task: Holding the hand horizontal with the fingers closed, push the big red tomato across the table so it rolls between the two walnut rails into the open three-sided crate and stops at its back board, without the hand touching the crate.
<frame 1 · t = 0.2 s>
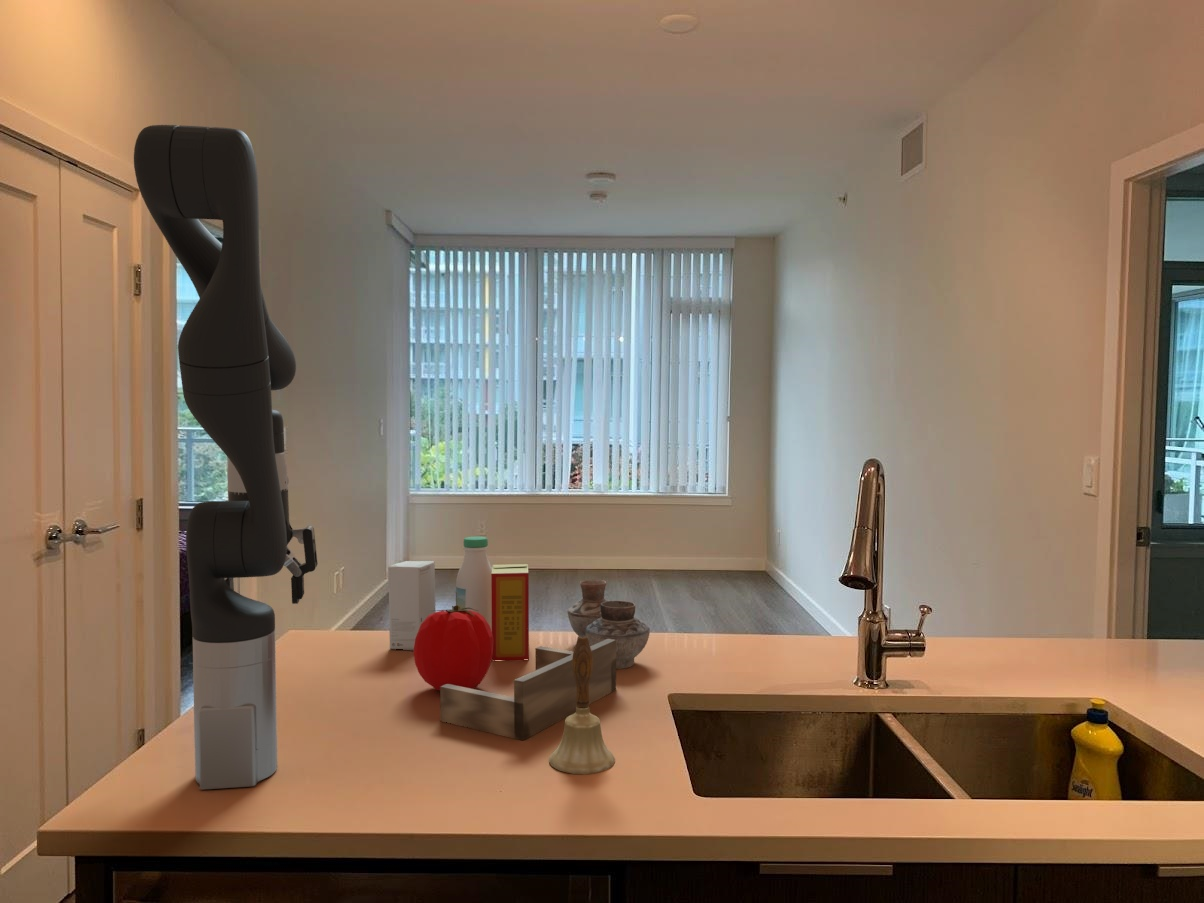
hand: (263, 604, 119), 18 cm above the worktop, tool pointing down, fingers open, 8 cm apart
hand bell: (582, 762, 110), on the worktop
baking soda box: (510, 654, 159), on the worktop
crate: (528, 703, 132), on the worktop
pottery: (605, 655, 159), on the worktop
tomato: (454, 689, 139), on the worktop
skincare box: (412, 646, 165), on the worktop
milk bottle: (476, 641, 168), on the worktop
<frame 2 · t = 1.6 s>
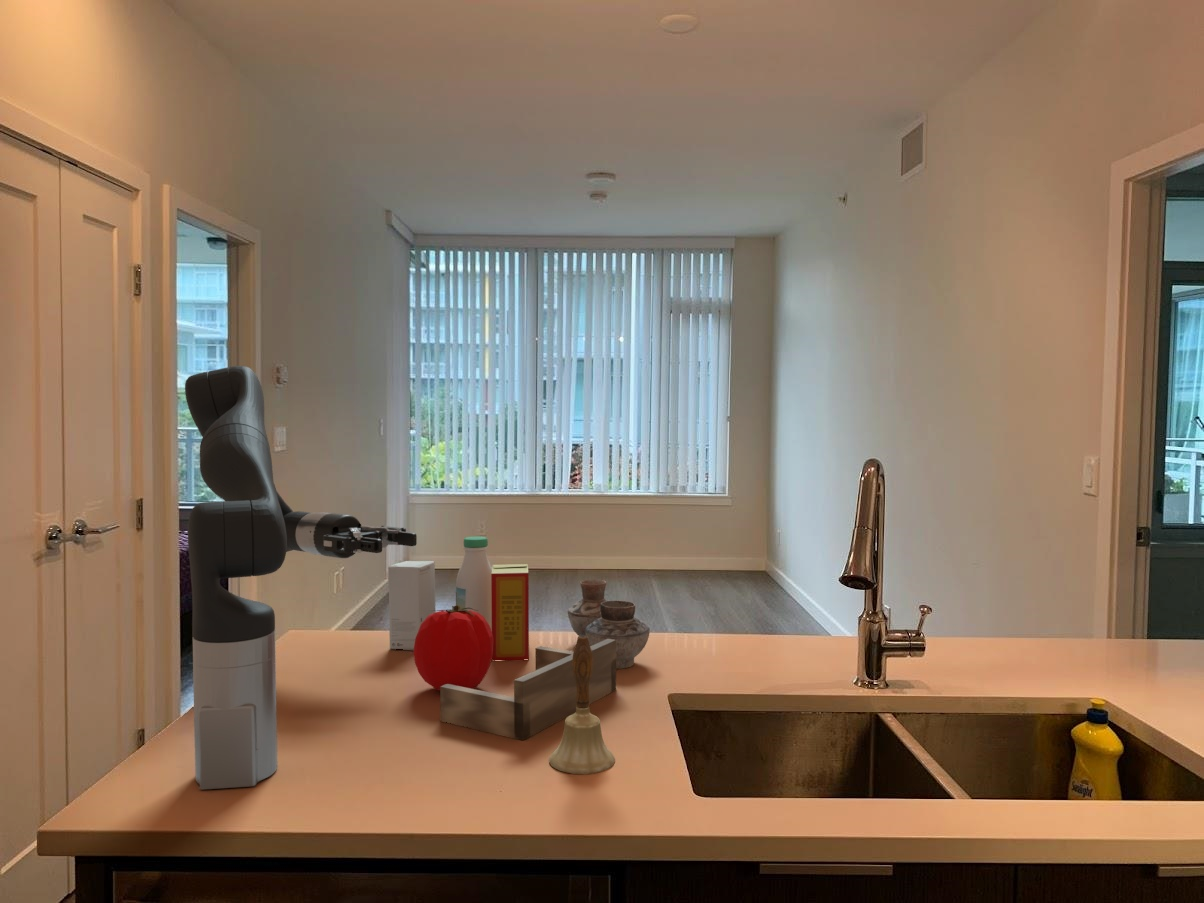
hand: (398, 543, 144), 22 cm above the worktop, tool horizontal, fingers open, 7 cm apart
nothing on the worktop moved.
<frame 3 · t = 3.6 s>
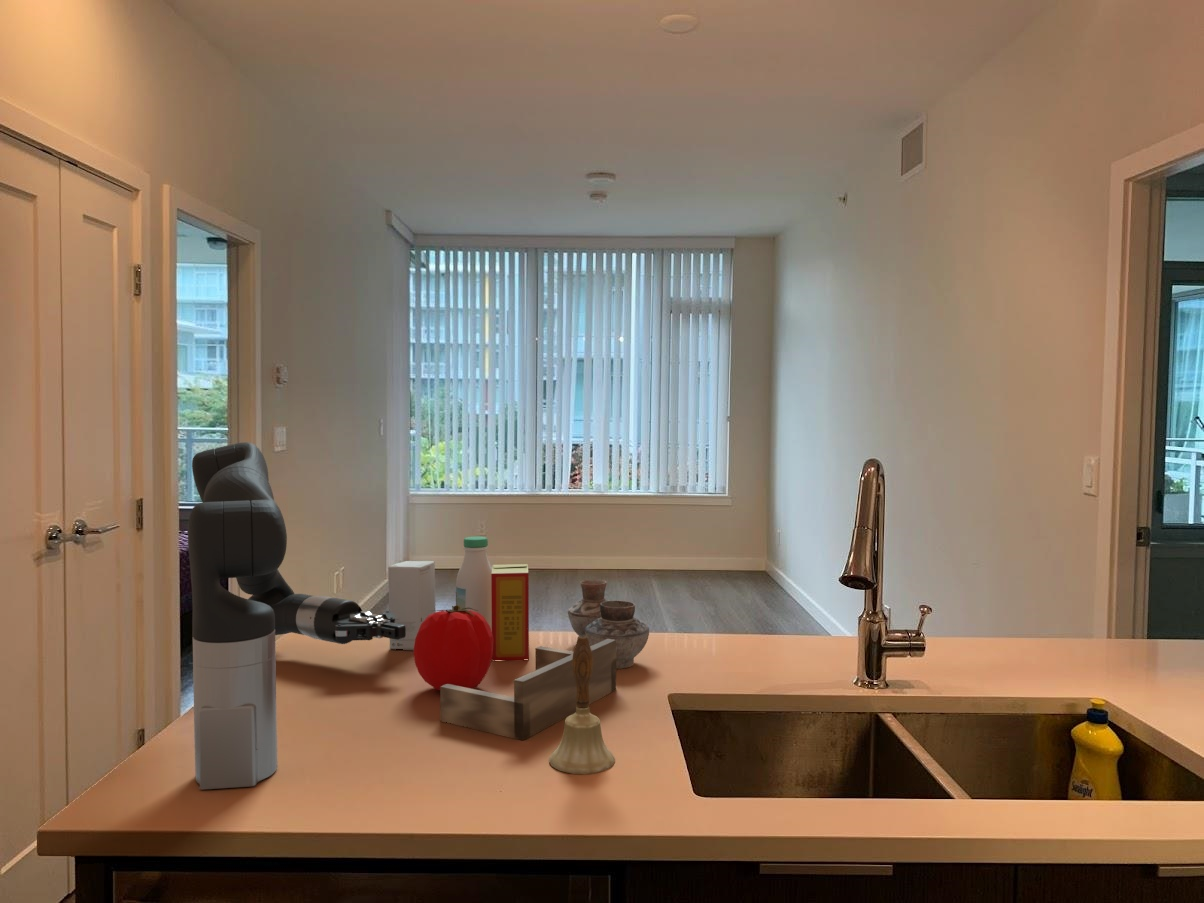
hand: (402, 632, 145), 8 cm above the worktop, tool horizontal, fingers closed
nothing on the worktop moved.
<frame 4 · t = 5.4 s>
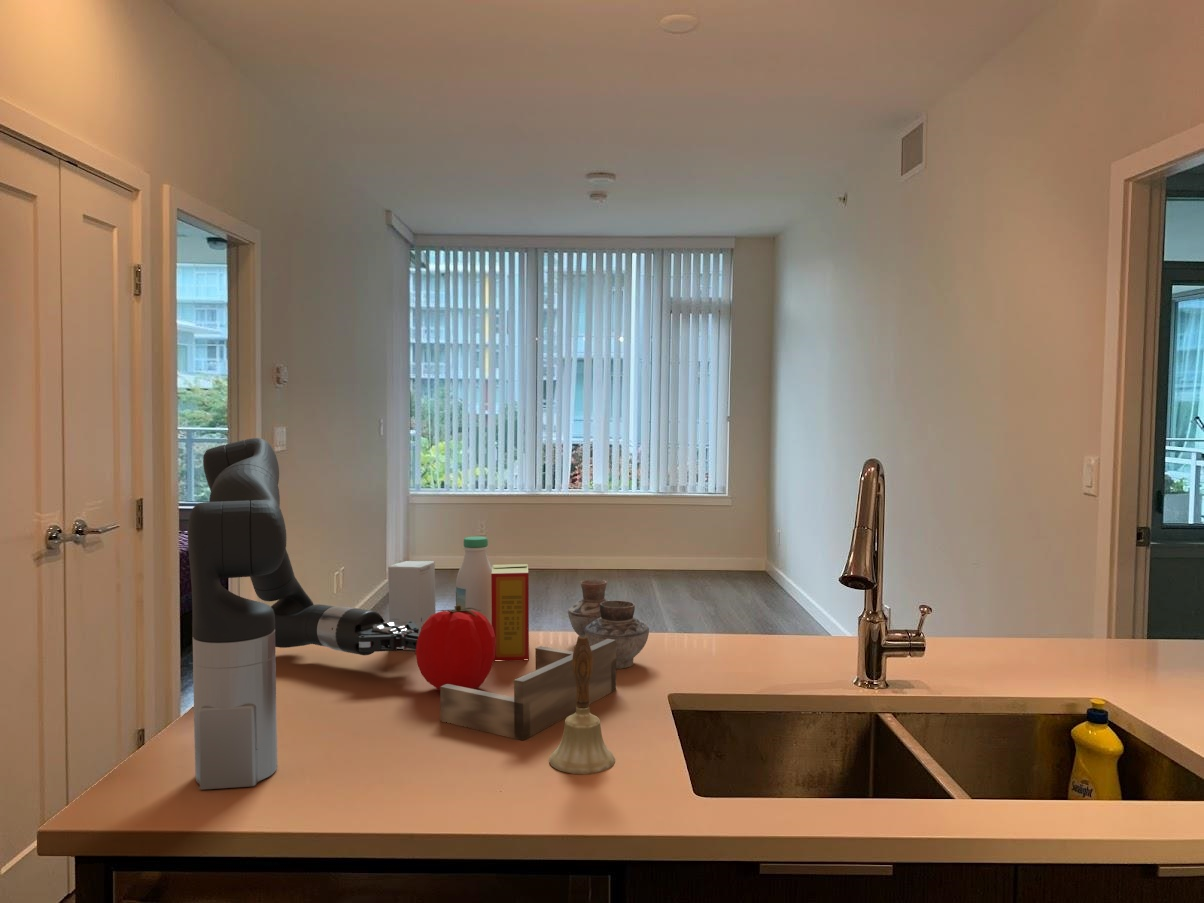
hand: (427, 643, 142), 7 cm above the worktop, tool horizontal, fingers closed
tomato: (456, 690, 139), on the worktop, touching gripper
everything else where it was.
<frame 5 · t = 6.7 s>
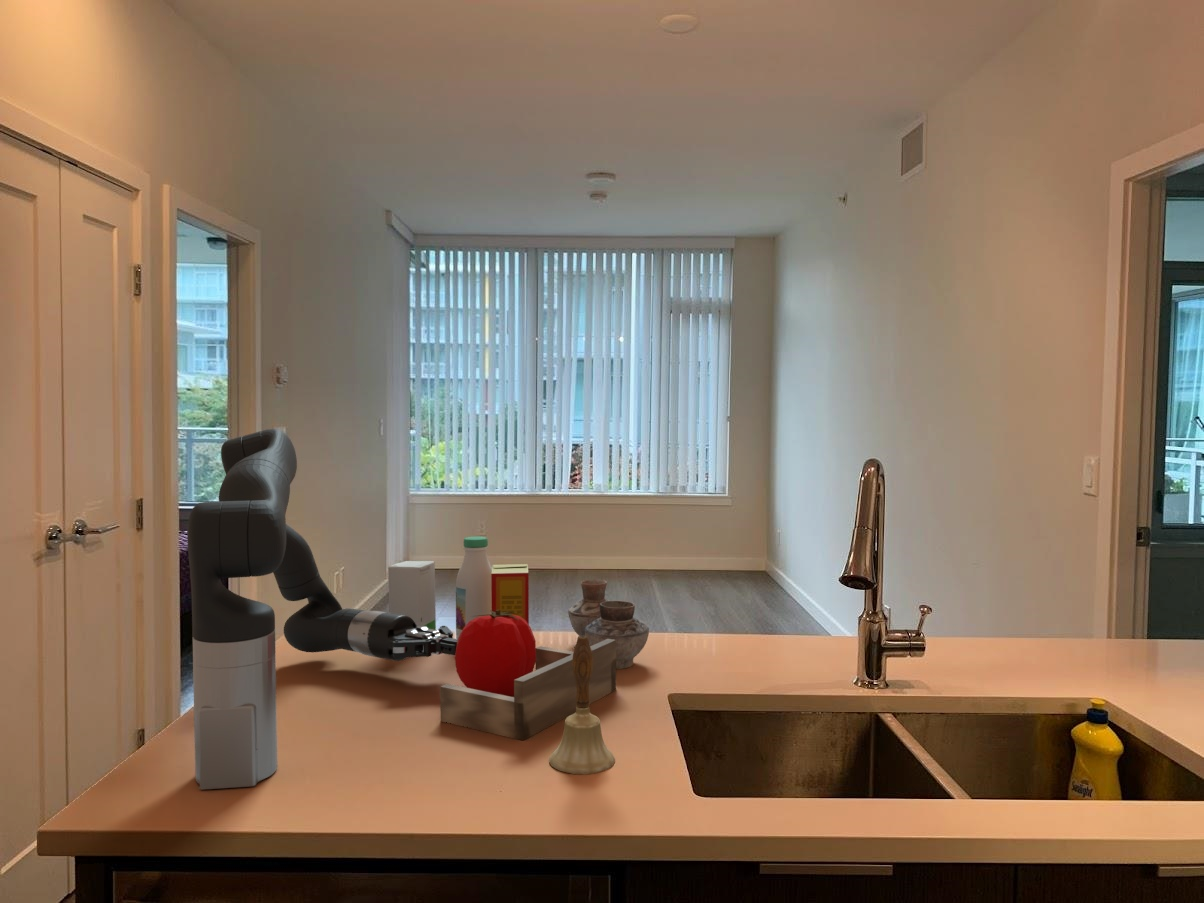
hand: (462, 648, 138), 7 cm above the worktop, tool horizontal, fingers closed
tomato: (496, 696, 136), on the worktop, touching gripper
everything else where it was.
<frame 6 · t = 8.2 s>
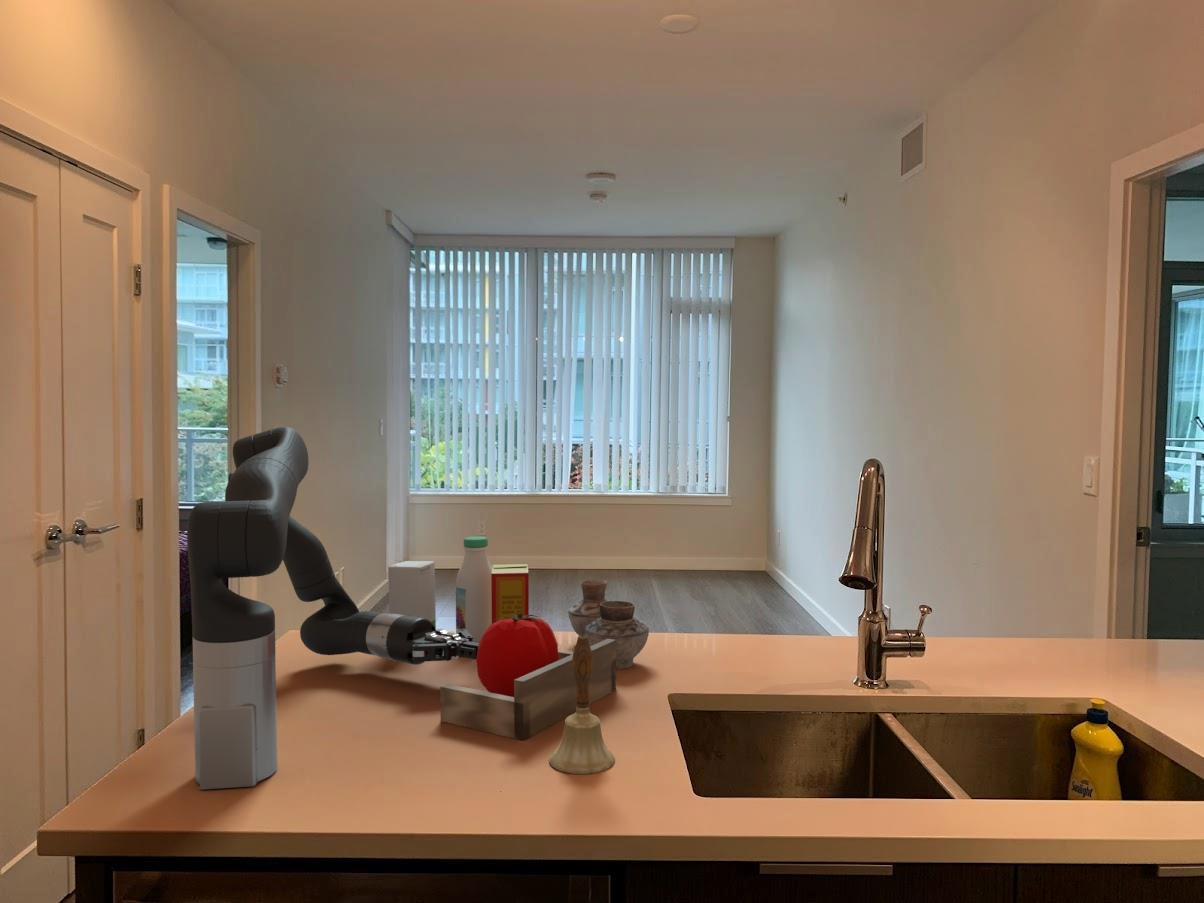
hand: (483, 652, 136), 7 cm above the worktop, tool horizontal, fingers closed
tomato: (518, 700, 134), on the worktop, touching gripper
everything else where it was.
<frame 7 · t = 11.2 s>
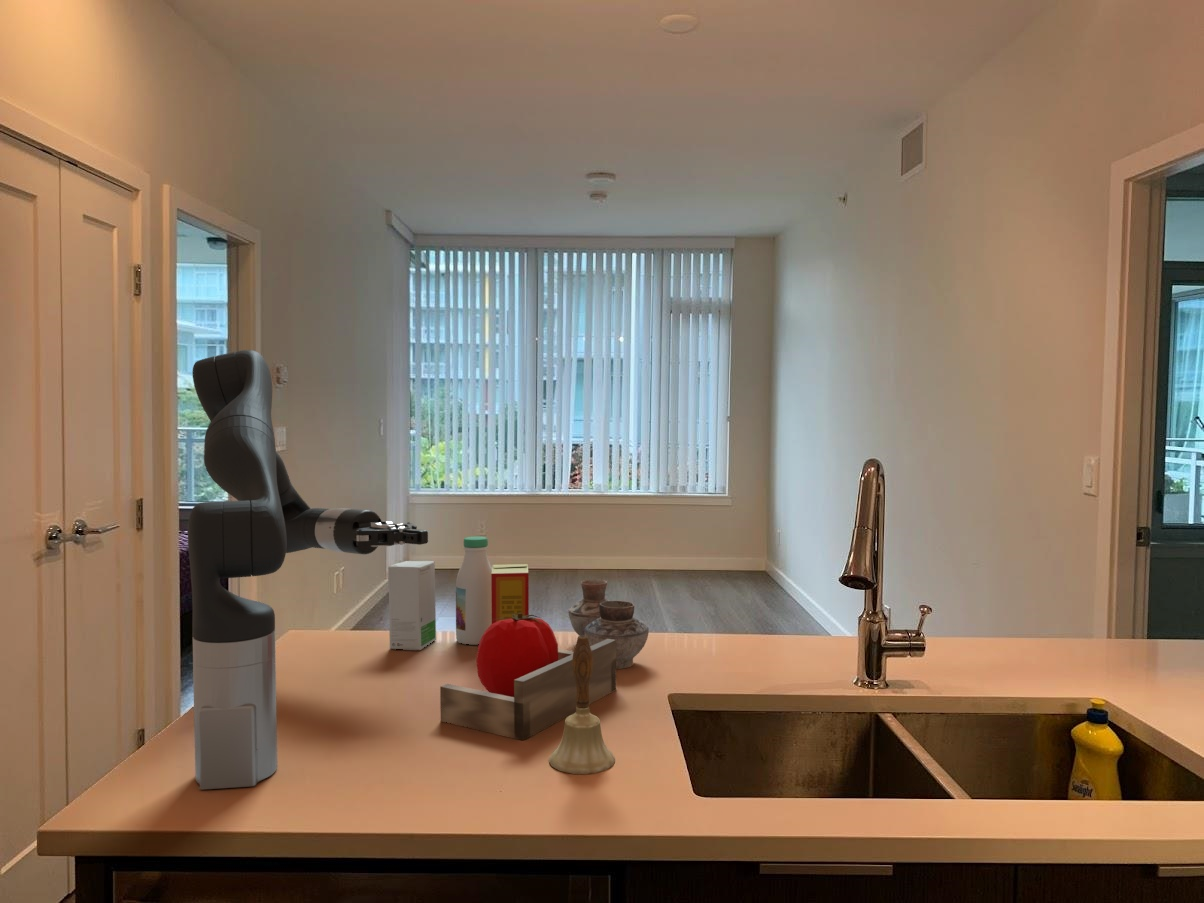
hand: (424, 537, 141), 24 cm above the worktop, tool horizontal, fingers closed
tomato: (518, 700, 134), on the worktop
everything else where it was.
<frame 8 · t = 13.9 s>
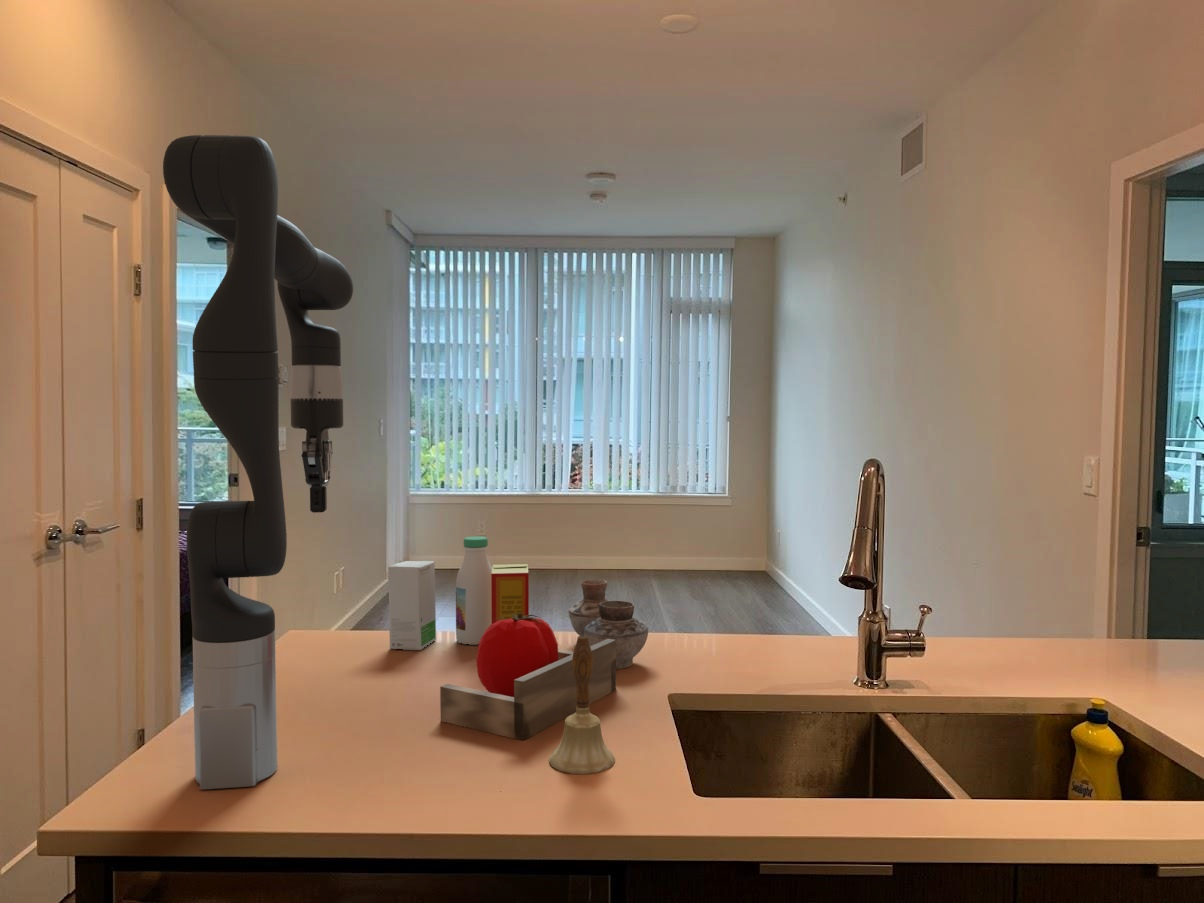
hand: (318, 511, 132), 29 cm above the worktop, tool pointing down, fingers closed
nothing on the worktop moved.
at the end: tomato 2.8 cm from the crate (horizontally); tomato moved 11.9 cm from its start; tomato on the worktop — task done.
